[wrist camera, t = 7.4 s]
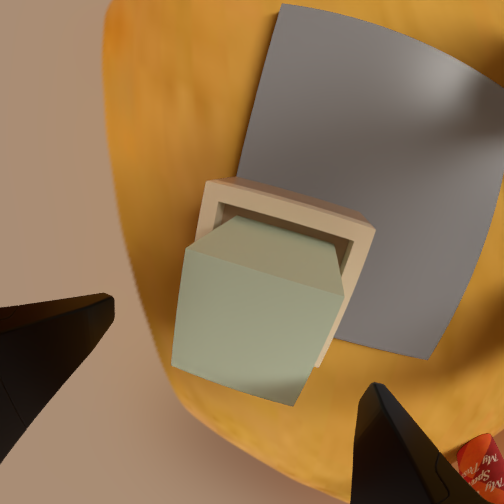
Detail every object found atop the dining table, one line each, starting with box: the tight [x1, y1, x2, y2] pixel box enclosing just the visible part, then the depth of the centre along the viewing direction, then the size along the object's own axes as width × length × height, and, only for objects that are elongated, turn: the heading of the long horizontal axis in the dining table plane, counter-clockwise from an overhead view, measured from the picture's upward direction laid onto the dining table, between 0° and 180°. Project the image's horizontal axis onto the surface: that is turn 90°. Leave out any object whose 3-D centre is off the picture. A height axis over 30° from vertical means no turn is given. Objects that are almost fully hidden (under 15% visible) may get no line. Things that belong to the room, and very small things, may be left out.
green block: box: [171, 215, 345, 406], centre depth 12 cm, size 5×5×6 cm
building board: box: [194, 4, 504, 368], centre depth 14 cm, size 18×22×6 cm
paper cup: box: [457, 434, 504, 504], centre depth 15 cm, size 8×8×14 cm
